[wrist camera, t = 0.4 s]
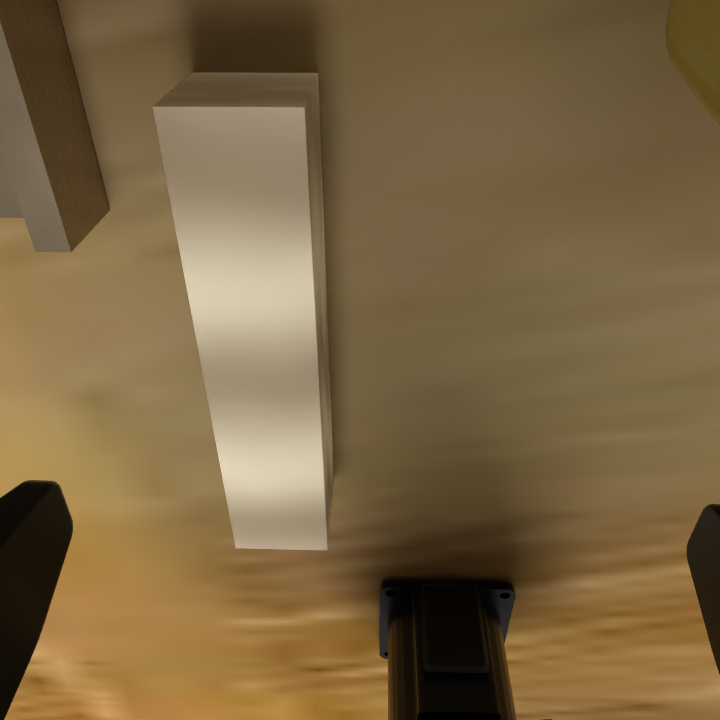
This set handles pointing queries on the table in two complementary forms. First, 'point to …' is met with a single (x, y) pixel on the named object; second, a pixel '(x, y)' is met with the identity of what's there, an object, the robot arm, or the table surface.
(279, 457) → the rail
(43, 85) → the bracket
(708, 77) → the flower pot
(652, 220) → the table surface
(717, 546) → the robot arm
